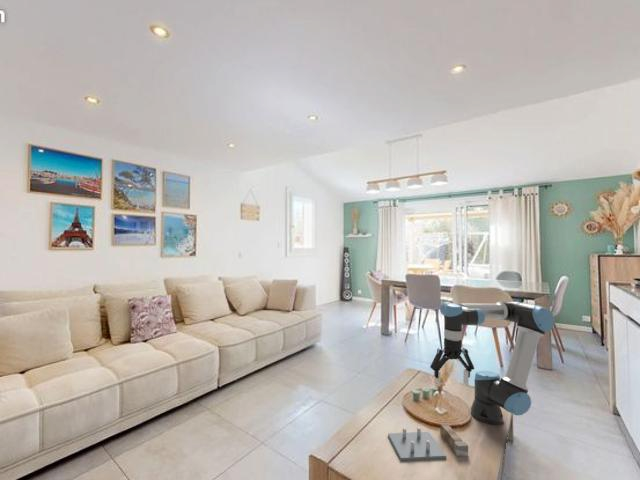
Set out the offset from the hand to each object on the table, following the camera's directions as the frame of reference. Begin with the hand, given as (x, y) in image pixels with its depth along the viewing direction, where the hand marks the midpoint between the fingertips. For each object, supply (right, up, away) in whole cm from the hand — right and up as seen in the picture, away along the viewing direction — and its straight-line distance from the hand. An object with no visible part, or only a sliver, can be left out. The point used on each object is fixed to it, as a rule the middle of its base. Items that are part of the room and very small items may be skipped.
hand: (452, 384), depth 135 cm
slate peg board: (-18, -26, -4) cm, 32 cm away
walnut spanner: (0, -26, -2) cm, 26 cm away
